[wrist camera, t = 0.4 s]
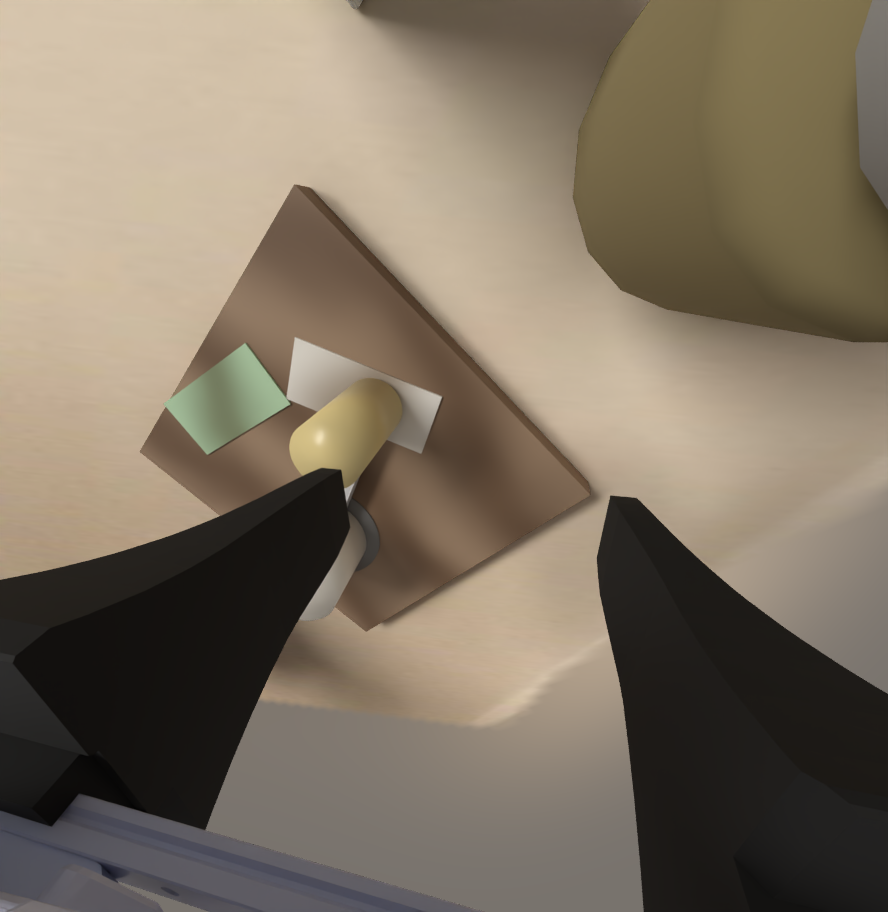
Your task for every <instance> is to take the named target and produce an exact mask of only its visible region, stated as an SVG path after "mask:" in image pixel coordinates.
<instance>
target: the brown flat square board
mask: <svg viewBox="0 0 888 912" xmlns="http://www.w3.org/2000/svg"><path fill="white" fill-rule="evenodd" d="M364 378H375V379H379V380H381V381H384V382H385V383H387V384H388V385H390V386H391V387H392V388H393V389H394V390H395V391H396V393H397V394H398V396H399V398H400V401H401V404H402V417H401V420H400V422H399V424H398V425H397V427H396V428H395V429H394V431H393V432H392V433H391V435H390V436H389V437H388V439H387V440H386V441H385V443H384V444H383V445H382V447H381V448H380V449H379V451H378V452H377V454H376V455H375V456H374V458H373V459H372V460H371V462H370V463H369V464H368V466H367V467H366V468H365V470H364V471H363V472H362V474H361V475H360V477H359V480H358V482H357V485H356V487H355V490H354V492H353V495H352V497H351V500H350V502H349V505H348V507H347V509H348V511H349V512H350V513H351V514H352V515H353V516H354V517H355V518H356V519H357V521H358V522H359V523H360V525H361V526H362V528H363V530H364V533H365V536H366V550H365V553H364V555H363V556H362V558H361V560H360V562H359V564H358V565H357V567H356V569H355V571H354V573H353V575H352V576H351V578H350V580H349V582H348V584H347V585H346V587H345V589H344V591H343V593H342V595H341V596H340V598H339V600H338V602H337V604H336V605H335V607H336V608H337V609H338V610H339V611H341V612H342V613H343V614H344V615H346V616H347V617H348V618H349V619H351V620H352V621H353V622H355V623H356V624H357V625H358V626H360V627H361V628H362V629H363V630H365V631H366V632H367V631H368V630H370V629H371V628H373V627H375V626H376V625H378V624H380V623H381V622H383V621H385V620H386V619H388V618H390V617H391V616H393V615H394V614H396V613H398V612H399V611H401V610H403V609H404V608H406V607H408V606H409V605H411V604H413V603H414V602H416V601H417V600H419V599H421V598H422V597H424V596H426V595H427V594H429V593H431V592H432V591H434V590H435V589H437V588H439V587H440V586H442V585H444V584H445V583H447V582H449V581H450V580H452V579H454V578H455V577H457V576H458V575H460V574H462V573H463V572H465V571H467V570H468V569H470V568H472V567H473V566H475V565H477V564H478V563H480V562H481V561H483V560H485V559H486V558H488V557H490V556H491V555H493V554H495V553H496V552H498V551H500V550H501V549H503V548H504V547H506V546H508V545H509V544H511V543H513V542H514V541H516V540H518V539H519V538H521V537H523V536H524V535H526V534H527V533H529V532H531V531H532V530H534V529H536V528H537V527H539V526H541V525H542V524H544V523H546V522H547V521H549V520H550V519H552V518H554V517H555V516H557V515H559V514H560V513H562V512H564V511H565V510H567V509H569V508H570V507H572V506H573V505H575V504H577V503H578V502H580V501H582V500H583V499H585V498H587V497H588V496H590V490H589V485H588V481H587V480H586V479H585V478H584V477H583V476H582V475H581V474H580V473H579V472H578V471H577V470H576V469H575V468H574V467H573V465H572V464H571V463H570V462H569V461H568V460H567V459H566V458H565V457H564V456H563V455H562V454H561V453H560V452H559V451H558V450H557V449H556V447H555V446H554V445H553V444H552V443H551V442H550V441H549V440H548V439H547V438H546V437H545V436H544V435H543V434H542V433H541V432H540V431H539V430H538V428H537V427H536V426H535V425H534V424H533V423H532V422H531V421H530V420H529V419H528V418H527V417H526V416H525V415H524V414H523V413H522V412H521V410H520V409H519V408H518V407H517V406H516V405H515V404H514V403H513V402H512V401H511V400H510V399H509V398H508V397H507V396H506V395H505V394H504V392H503V391H502V390H501V389H500V388H499V387H498V386H497V385H496V384H495V383H494V382H493V381H492V380H491V379H490V378H489V377H488V376H487V374H486V373H485V372H484V371H483V370H482V369H481V368H480V367H479V366H478V365H477V364H476V363H475V362H474V361H473V360H472V359H471V358H470V356H469V355H468V354H467V353H466V352H465V351H464V350H463V349H462V348H461V347H460V346H459V345H458V344H457V343H456V342H455V341H454V340H453V339H452V337H451V336H450V335H449V334H448V333H447V332H446V331H445V330H444V329H443V328H442V327H441V326H440V325H439V324H438V323H437V322H436V321H435V319H434V318H433V317H432V316H431V315H430V314H429V313H428V312H427V311H426V310H425V309H424V308H423V307H422V306H421V305H420V304H419V303H418V301H417V300H416V299H415V298H414V297H413V296H412V295H411V294H410V293H409V292H408V291H407V290H406V289H405V288H404V287H403V286H402V285H401V283H400V282H399V281H398V280H397V279H396V278H395V277H394V276H393V275H392V274H391V273H390V272H389V271H388V270H387V269H386V268H385V267H384V266H383V264H382V263H381V262H380V261H379V260H378V259H377V258H376V257H375V256H374V255H373V254H372V253H371V252H370V251H369V250H368V249H367V248H366V246H365V245H364V244H363V243H362V242H361V241H360V240H359V239H358V238H357V237H356V236H355V235H354V234H353V233H352V232H351V231H350V230H349V228H348V227H347V226H346V225H345V224H344V223H343V222H342V221H341V220H340V219H339V218H338V217H337V216H336V215H335V214H334V213H333V212H332V210H331V209H330V208H329V207H328V206H327V205H326V204H325V203H324V202H323V201H322V200H321V199H320V198H319V197H318V196H317V195H316V194H315V192H314V191H313V190H312V189H311V188H310V187H305V186H300V185H295V184H294V186H293V188H292V190H291V191H290V193H289V195H288V196H287V198H286V200H285V202H284V203H283V205H282V207H281V209H280V210H279V212H278V214H277V215H276V217H275V219H274V221H273V222H272V224H271V226H270V228H269V229H268V231H267V233H266V234H265V236H264V238H263V240H262V241H261V243H260V245H259V247H258V248H257V250H256V252H255V253H254V255H253V257H252V259H251V260H250V262H249V264H248V266H247V267H246V269H245V271H244V272H243V274H242V276H241V278H240V279H239V281H238V283H237V285H236V286H235V288H234V290H233V291H232V293H231V295H230V297H229V298H228V300H227V302H226V303H225V305H224V307H223V309H222V310H221V312H220V314H219V316H218V317H217V319H216V321H215V322H214V324H213V326H212V328H211V329H210V331H209V333H208V335H207V336H206V338H205V340H204V341H203V343H202V345H201V347H200V348H199V350H198V352H197V354H196V355H195V357H194V359H193V360H192V362H191V364H190V366H189V367H188V369H187V371H186V373H185V374H184V376H183V378H182V379H181V381H180V383H179V385H178V386H177V388H176V390H175V392H174V393H173V395H172V397H171V398H170V399H169V400H168V401H167V402H165V403H164V405H165V406H166V407H165V409H164V411H163V412H162V414H161V416H160V417H159V419H158V421H157V423H156V424H155V426H154V428H153V430H152V431H151V433H150V435H149V436H148V438H147V440H146V442H145V443H144V445H143V447H142V449H141V450H140V452H141V453H142V454H143V455H144V456H146V457H147V458H148V459H149V460H151V461H152V462H153V463H154V464H156V465H157V466H158V467H159V468H161V469H162V470H163V471H164V472H166V473H167V474H168V475H169V476H171V477H172V478H173V479H174V480H176V481H177V482H178V483H180V484H181V485H182V486H183V487H185V488H186V489H187V490H188V491H190V492H191V493H192V494H193V495H195V496H196V497H197V498H198V499H200V500H201V501H202V502H203V503H205V504H206V505H207V506H208V507H210V508H211V509H212V510H214V511H215V512H216V513H217V514H219V515H220V516H221V515H223V514H225V513H228V512H230V511H232V510H234V509H236V508H238V507H241V506H243V505H245V504H247V503H249V502H251V501H253V500H256V499H258V498H260V497H262V496H264V495H266V494H268V493H269V492H271V491H273V490H275V489H277V488H279V487H281V486H283V485H285V484H287V483H289V482H291V481H293V480H295V479H297V478H299V477H301V476H302V474H301V473H300V472H299V471H298V470H297V468H296V467H295V465H294V463H293V461H292V459H291V455H290V450H289V444H290V439H291V436H292V434H293V433H294V431H295V430H296V429H297V428H298V427H299V426H301V425H302V424H303V423H304V422H306V421H307V420H308V419H310V418H311V417H312V416H313V415H315V414H316V413H317V412H318V411H320V410H321V409H322V408H323V407H325V406H326V405H327V404H328V403H330V402H331V401H332V400H333V399H335V398H336V397H337V396H338V395H340V394H341V393H342V392H343V391H345V390H346V389H347V388H348V387H350V386H351V385H352V384H353V383H355V382H356V381H358V380H360V379H364Z"/></svg>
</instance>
